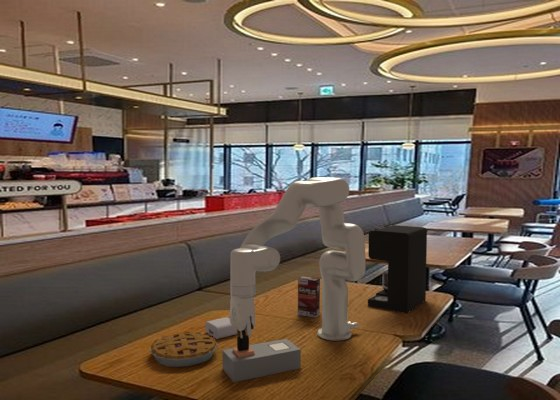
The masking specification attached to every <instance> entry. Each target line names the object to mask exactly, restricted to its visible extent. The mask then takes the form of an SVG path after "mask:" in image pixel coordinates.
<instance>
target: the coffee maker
mask: <svg viewBox="0 0 560 400" xmlns="http://www.w3.org/2000/svg"><path fill="white" fill-rule="evenodd" d="M427 239H428V229H427V228H426V227H422V226H421V227H420V226H407V225H397V224H396V225H394V224H392V225H384V226H383V227H380V228H379V227H378V228H377V227H375V228H373V229H372V230H370V231H369V232H368V246H367V247H368V248H367V249H368V252H367V255H368V258H369V259H370V260H375V261H383V262H387V269H386V270H383V272H382V283H381V287H382V290H380V291H378V292H376V293H375V295H373V296H372V297H369V298H368V299H367V307H370V306H371V308H375V307H376V309H380V308H382V309H381V310H386V309H387V310H388V311H391V310H392V312H397V311H398V312H397V313H402V312H404V313H403V314H408V312H409V311H410V312H411V310H412V309H413V310H414V309H416V308H417V307H419V306H420V305H422V304H423V303H424V302H426V301H425V300H426V298H427V249H428V245H427V244H428V243H427V242H428V240H427ZM423 301H424V302H423ZM422 302H423V303H422ZM421 303H422V304H421ZM419 304H420V305H419ZM418 305H419V306H418ZM416 306H417V307H416ZM415 307H416V308H415ZM413 310H412V311H413ZM410 312H409V313H410Z"/></svg>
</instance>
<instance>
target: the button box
mask: <svg viewBox="0 0 560 400" xmlns="http://www.w3.org/2000/svg"><path fill="white" fill-rule="evenodd" d="M278 343H284V344H285V345H287V346H288V347H289V349H284V350H278V351H274V350H273V349H272V348H271V347H269V345H272V344H278ZM249 347H250V348H252V349H253V350H254V355H252V356H246V357H241V358H237V356H236V355H235V354H234V353H233V348H234V347H231V348H227V349H222V370H223V371H224V373H225V374H226V375H227V376H228V377H229V379H230V380H231V381H232V382H233V383H237V382H242V381H247V380H251V379H256V378H261V377H266V376H270V375H275V374H279V373H284V372H288V371H289V372H290V371H295V370H299V369H301V368H302V367H301V360H302V359H301V357H302V351H301V350H302V349H301V348H300V347H298V346H297V345H296V344H294V343H293V342H292V341H290V340H289V339H288V338H284V339H282V338H281V339H276V340H271V341H266V342H259V343H255V344H249Z"/></svg>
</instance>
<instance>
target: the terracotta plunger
mask: <svg viewBox="0 0 560 400" xmlns="http://www.w3.org/2000/svg"><path fill="white" fill-rule="evenodd" d="M232 348H233V353H234V354H235V355H236V356H237V358H241V357H246V356H252V355H254V350H253V349H252V348H250V347H249V350H244V351H239V350H238V349H237V346H236V347H232Z"/></svg>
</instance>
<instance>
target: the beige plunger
mask: <svg viewBox="0 0 560 400" xmlns="http://www.w3.org/2000/svg"><path fill="white" fill-rule="evenodd" d="M269 347H271V348H272V349H273V350H274V351H278V350H284V349H289V347H288V346H287V345H285V344H284V343H278V344H272V345H269Z"/></svg>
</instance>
